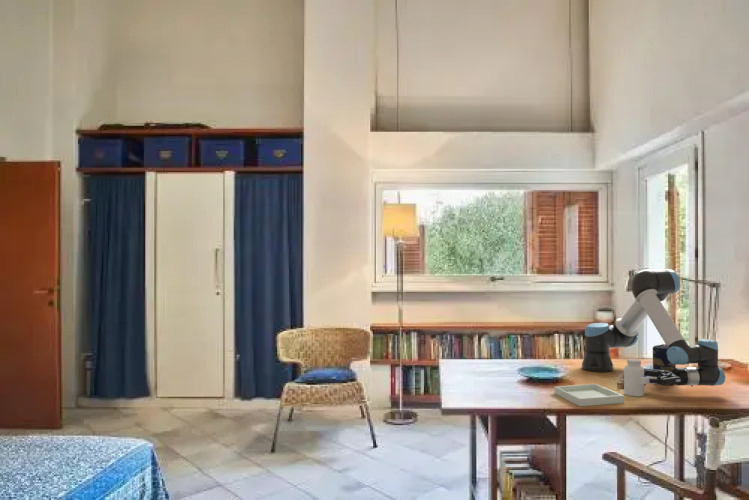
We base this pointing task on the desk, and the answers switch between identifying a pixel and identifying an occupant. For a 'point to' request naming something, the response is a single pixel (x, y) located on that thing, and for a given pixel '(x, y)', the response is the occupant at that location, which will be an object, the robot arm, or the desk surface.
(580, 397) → the tray
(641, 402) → the desk surface
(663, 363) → the canister
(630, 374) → the pill bottle
